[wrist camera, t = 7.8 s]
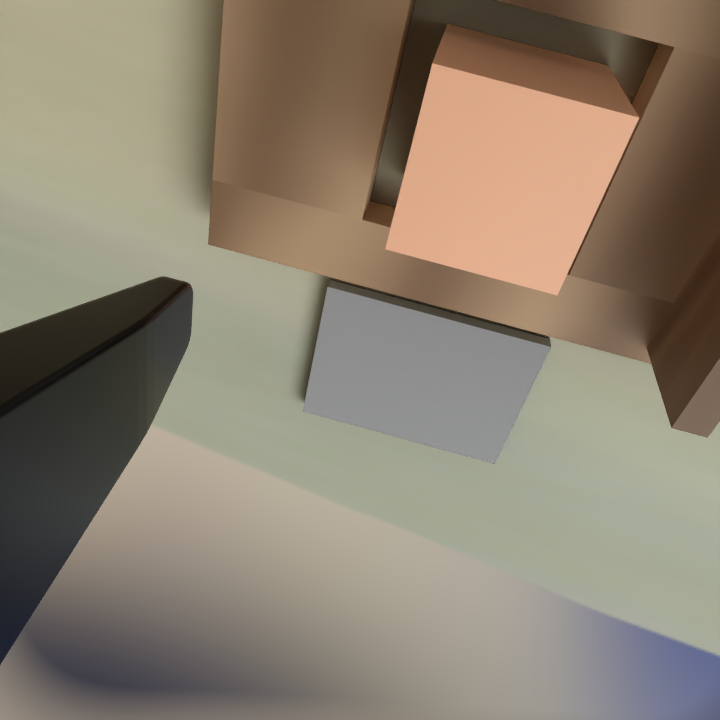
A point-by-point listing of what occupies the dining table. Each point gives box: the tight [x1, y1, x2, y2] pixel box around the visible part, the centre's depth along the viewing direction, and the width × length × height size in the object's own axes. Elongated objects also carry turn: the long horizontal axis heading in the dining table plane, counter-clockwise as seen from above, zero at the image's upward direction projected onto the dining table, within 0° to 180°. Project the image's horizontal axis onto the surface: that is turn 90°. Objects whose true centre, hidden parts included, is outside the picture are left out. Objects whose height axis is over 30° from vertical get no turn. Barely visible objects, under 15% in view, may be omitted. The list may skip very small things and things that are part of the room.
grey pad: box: [303, 280, 551, 464], centre depth 24 cm, size 8×6×1 cm
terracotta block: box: [385, 24, 639, 295], centre depth 17 cm, size 4×4×5 cm
